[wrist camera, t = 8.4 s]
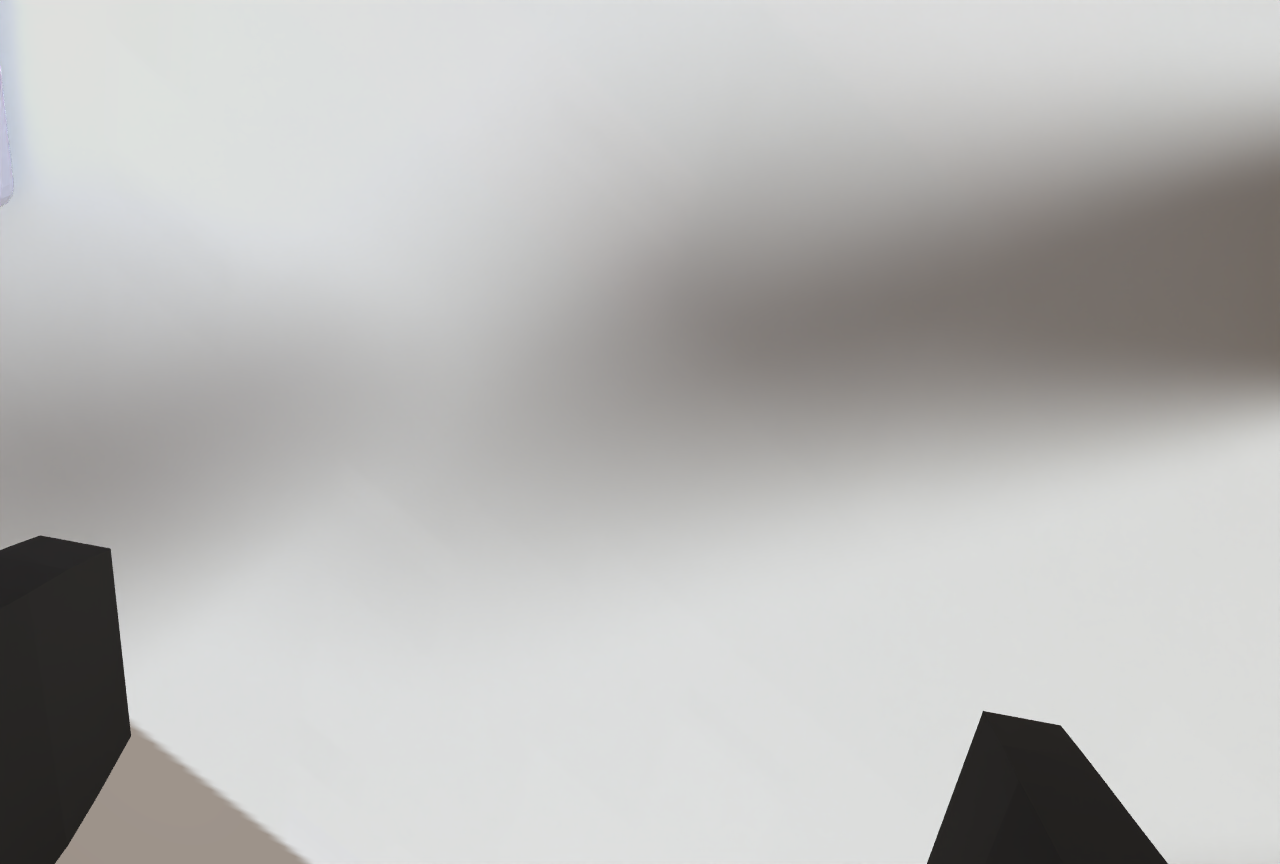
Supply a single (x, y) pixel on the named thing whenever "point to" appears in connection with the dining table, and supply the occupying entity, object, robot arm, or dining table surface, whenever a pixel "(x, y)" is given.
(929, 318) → the dining table surface
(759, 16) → the dining table surface
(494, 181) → the dining table surface
